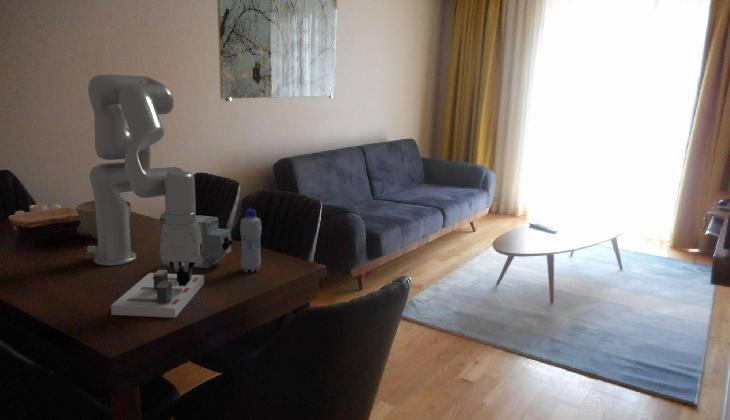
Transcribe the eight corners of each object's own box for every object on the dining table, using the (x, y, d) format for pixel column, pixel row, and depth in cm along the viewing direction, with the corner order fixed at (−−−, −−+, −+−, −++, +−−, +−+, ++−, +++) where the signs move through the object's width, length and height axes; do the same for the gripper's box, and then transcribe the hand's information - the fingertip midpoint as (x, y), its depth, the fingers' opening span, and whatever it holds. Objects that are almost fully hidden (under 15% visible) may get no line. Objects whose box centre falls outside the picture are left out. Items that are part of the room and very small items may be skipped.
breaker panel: (111, 314, 133) (110, 305, 133) (149, 280, 157) (149, 272, 156) (175, 317, 134) (174, 308, 133) (204, 283, 157) (203, 275, 156)
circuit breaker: (225, 270, 169) (225, 224, 165) (184, 265, 171) (183, 220, 168) (236, 263, 176) (235, 219, 172) (196, 258, 178) (195, 215, 175)
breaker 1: (157, 302, 135) (156, 285, 134) (162, 296, 138) (162, 280, 137) (166, 302, 135) (166, 286, 134) (172, 297, 138) (171, 281, 137)
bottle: (238, 267, 171) (237, 207, 167) (259, 265, 174) (259, 206, 169) (242, 274, 165) (241, 212, 161) (263, 272, 168) (263, 211, 163)
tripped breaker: (154, 290, 143) (153, 274, 142) (159, 285, 146) (158, 269, 145) (163, 290, 143) (162, 274, 142) (167, 285, 146) (167, 270, 145)
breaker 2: (179, 280, 151) (178, 265, 150) (183, 275, 154) (183, 260, 153) (187, 280, 151) (187, 265, 150) (191, 276, 154) (191, 261, 153)
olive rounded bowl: (68, 237, 195) (65, 205, 192) (113, 227, 210) (111, 197, 207) (97, 246, 186) (95, 213, 183) (143, 236, 201) (141, 204, 198)
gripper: (146, 220, 136) (150, 288, 140) (205, 223, 136) (207, 290, 140) (158, 214, 144) (161, 278, 148) (213, 216, 144) (215, 280, 148)
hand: (183, 284), depth 144 cm, fingers closed
